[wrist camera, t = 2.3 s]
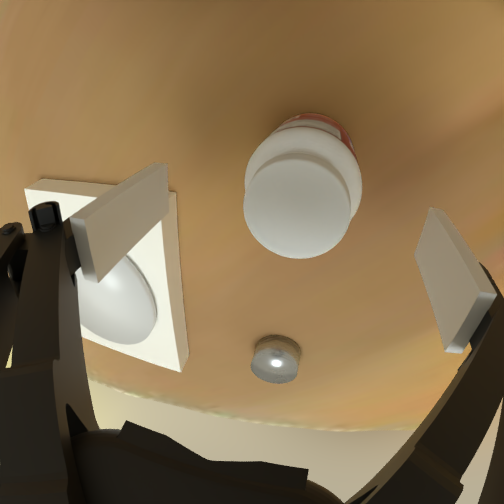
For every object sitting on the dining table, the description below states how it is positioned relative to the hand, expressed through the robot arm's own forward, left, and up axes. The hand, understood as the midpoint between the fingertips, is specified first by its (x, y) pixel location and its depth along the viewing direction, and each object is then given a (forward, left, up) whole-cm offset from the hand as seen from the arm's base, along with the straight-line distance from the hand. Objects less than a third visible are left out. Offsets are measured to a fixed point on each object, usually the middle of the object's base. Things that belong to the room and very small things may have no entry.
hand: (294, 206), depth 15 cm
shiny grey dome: (+22, 0, -10) cm, 24 cm away
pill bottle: (0, 0, -10) cm, 10 cm away
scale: (+16, -20, -10) cm, 27 cm away
